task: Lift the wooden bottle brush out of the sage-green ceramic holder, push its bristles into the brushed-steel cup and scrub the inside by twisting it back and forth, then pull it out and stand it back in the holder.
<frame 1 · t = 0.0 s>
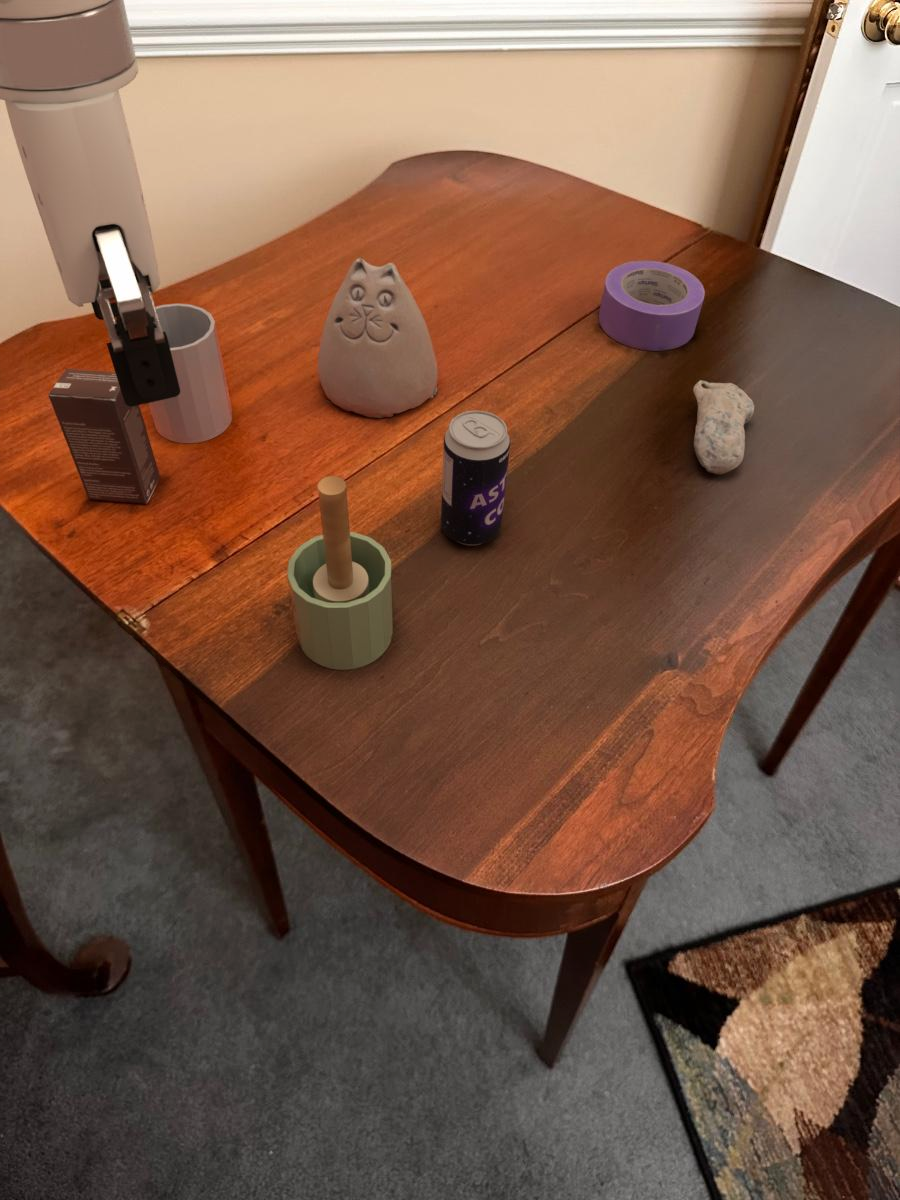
hand: (136, 354, 54), 26 cm above the table, tool pointing down, fingers open, 9 cm apart
steel cup: (193, 419, 91), on the table
box: (125, 489, 84), on the table
decorative stone: (718, 442, 92), on the table
bottle brush: (345, 627, 73), point 1 cm above the table, touching brush holder
tape roll: (645, 325, 106), on the table
brush holder: (345, 631, 74), on the table
beverage can: (470, 531, 82), on the table
sculpture: (378, 388, 96), on the table
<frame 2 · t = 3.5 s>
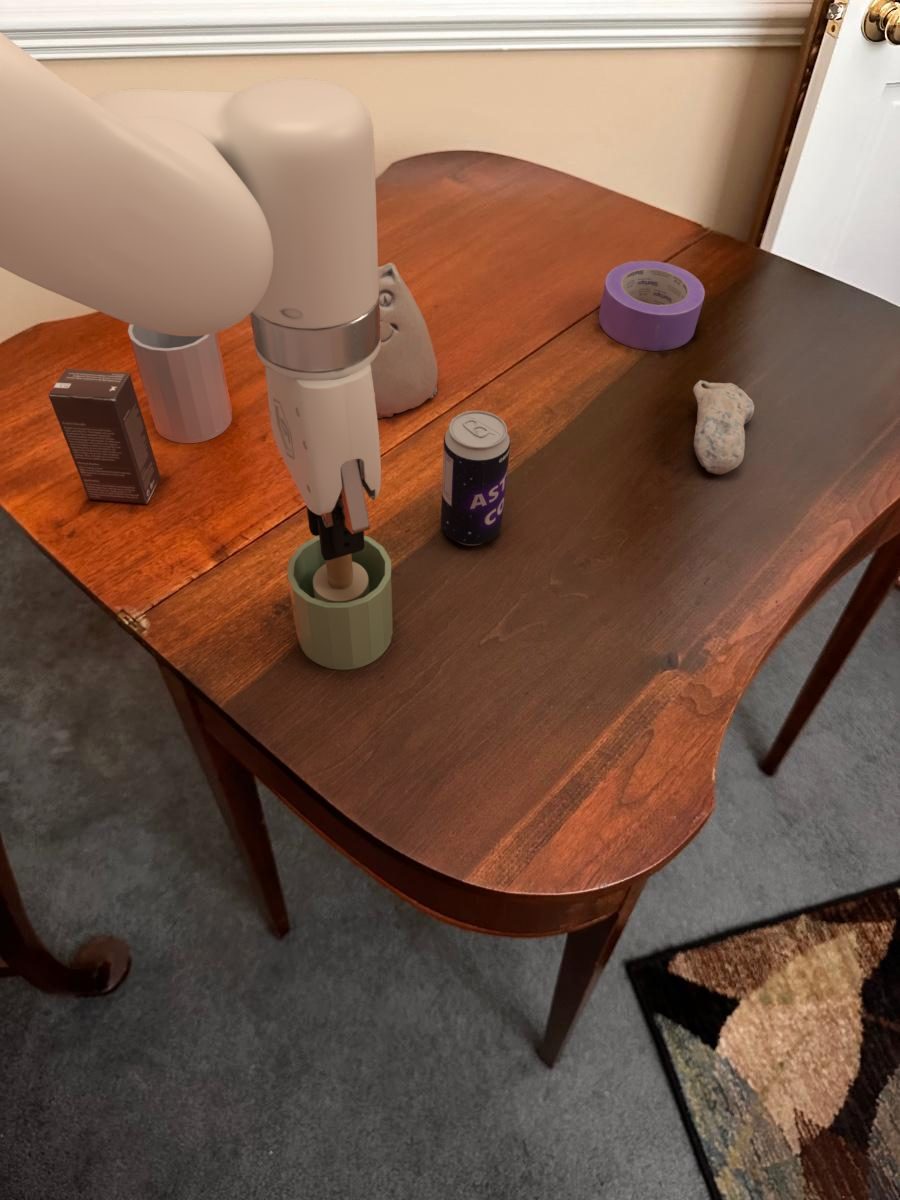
hand: (336, 539, 65), 11 cm above the table, tool pointing down, fingers closed on bottle brush, 2 cm apart
bottle brush: (345, 627, 73), point 1 cm above the table, touching brush holder, gripper
everything else where it was.
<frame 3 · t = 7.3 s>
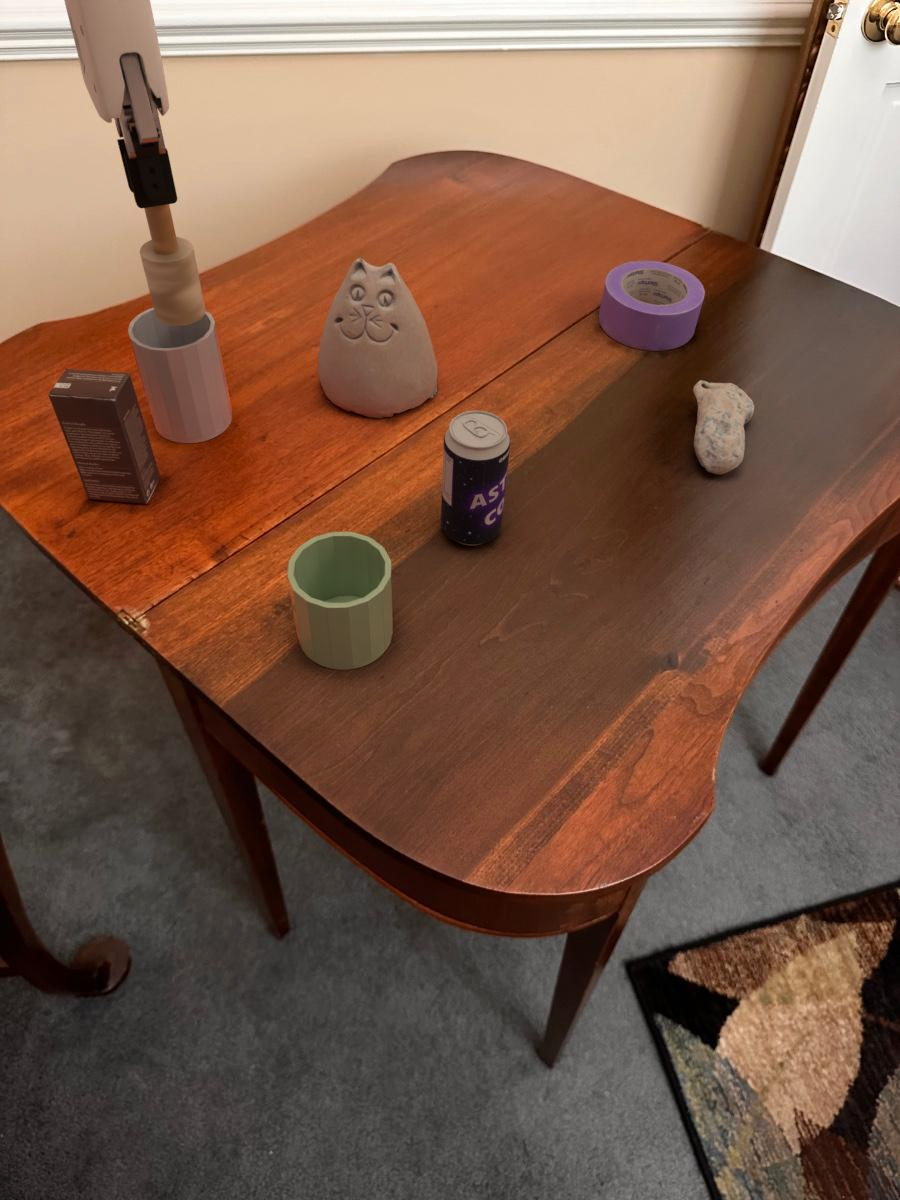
hand: (153, 195, 70), 25 cm above the table, tool pointing down, fingers closed on bottle brush
bottle brush: (180, 312, 78), point 15 cm above the table, touching gripper
everything else where it was.
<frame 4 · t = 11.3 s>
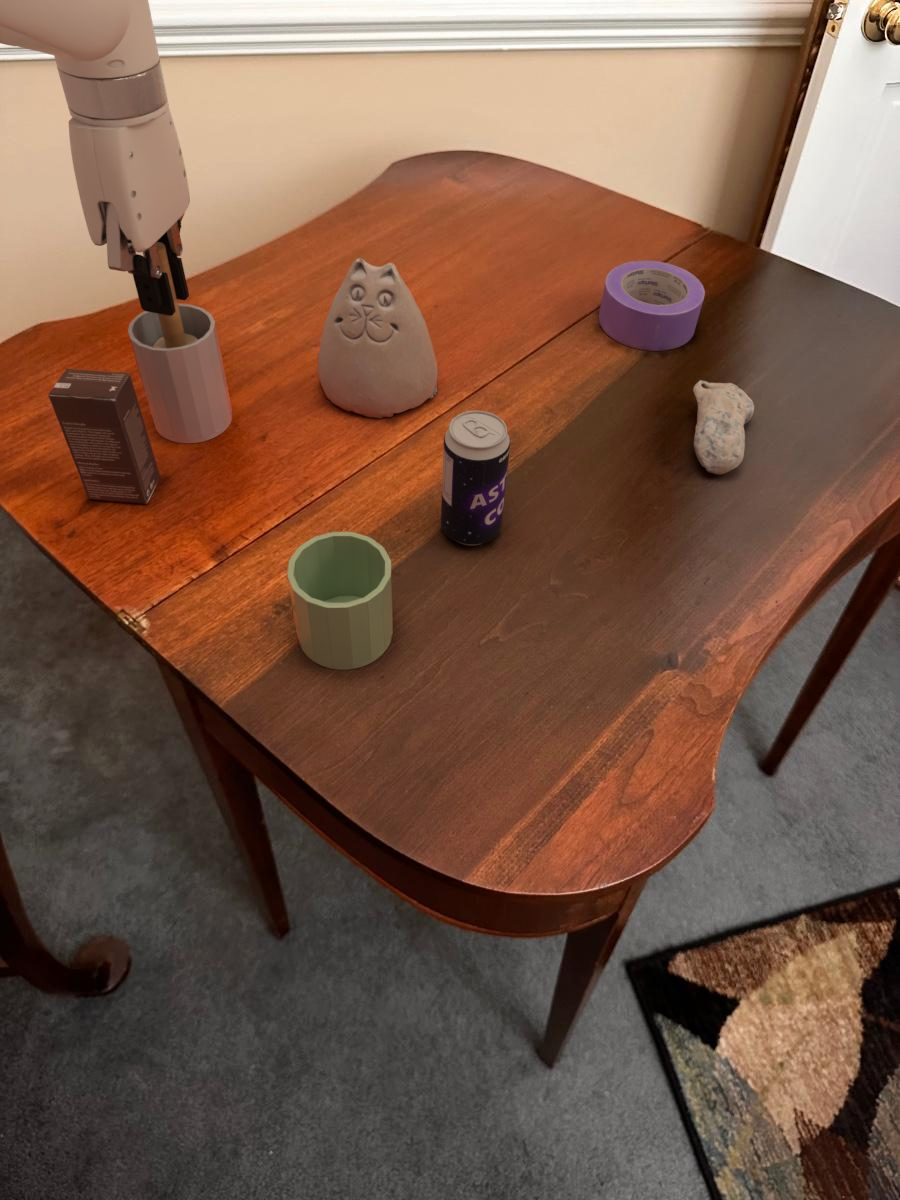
hand: (165, 302, 81), 13 cm above the table, tool pointing down, fingers closed on bottle brush, 2 cm apart
bottle brush: (188, 396, 89), point 3 cm above the table, touching gripper
everything else where it was.
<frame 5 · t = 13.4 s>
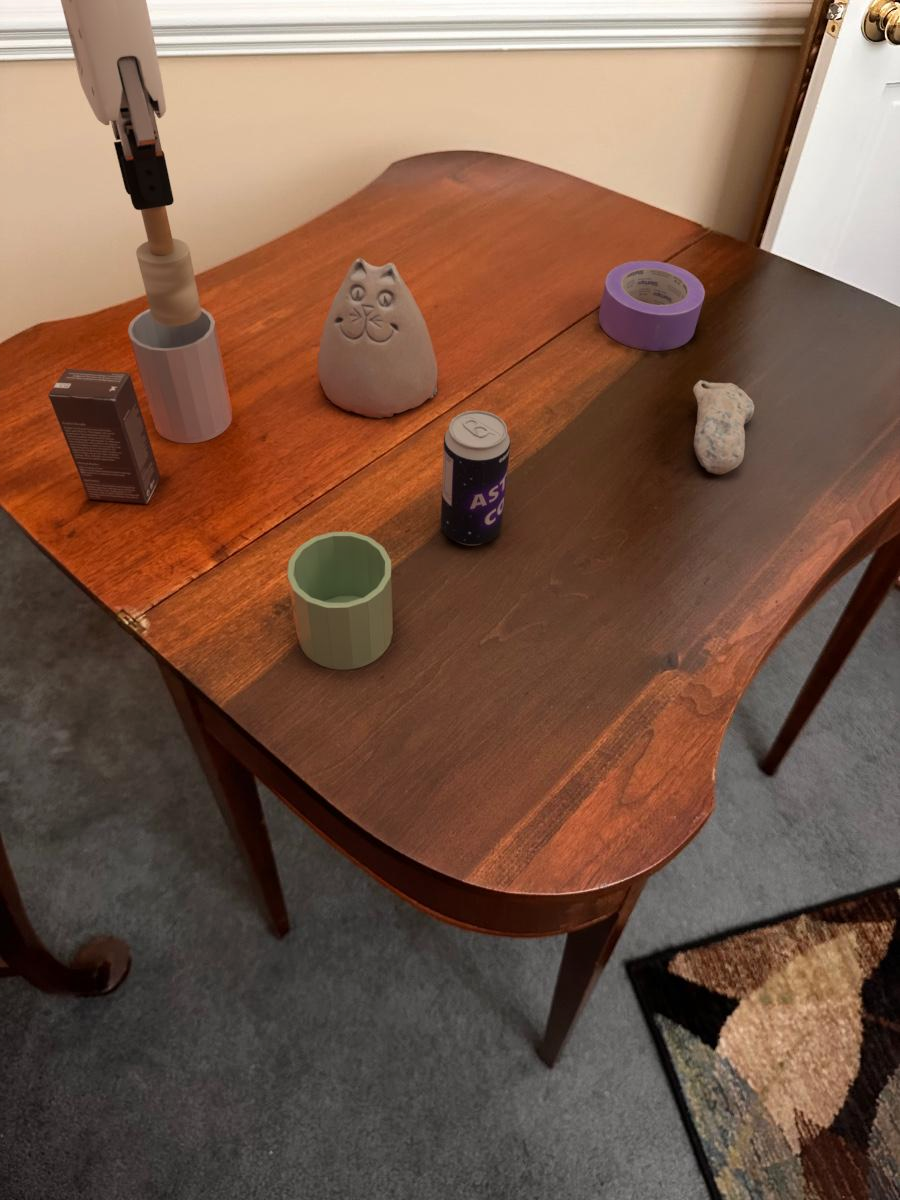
hand: (149, 196, 71), 25 cm above the table, tool pointing down, fingers closed on bottle brush
bottle brush: (176, 313, 79), point 14 cm above the table, touching gripper
everything else where it was.
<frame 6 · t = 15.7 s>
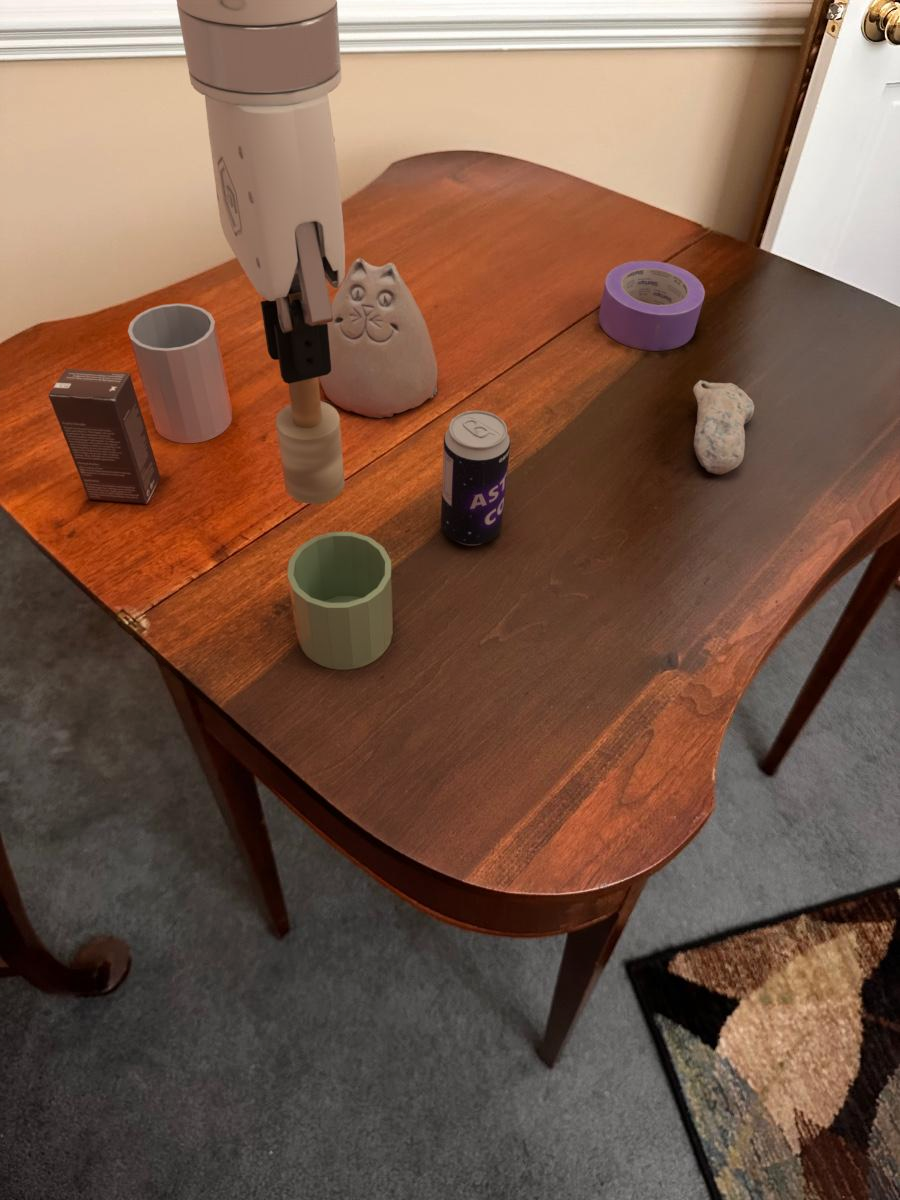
hand: (299, 363, 57), 25 cm above the table, tool pointing down, fingers closed on bottle brush
bottle brush: (315, 483, 65), point 14 cm above the table, touching gripper
everything else where it was.
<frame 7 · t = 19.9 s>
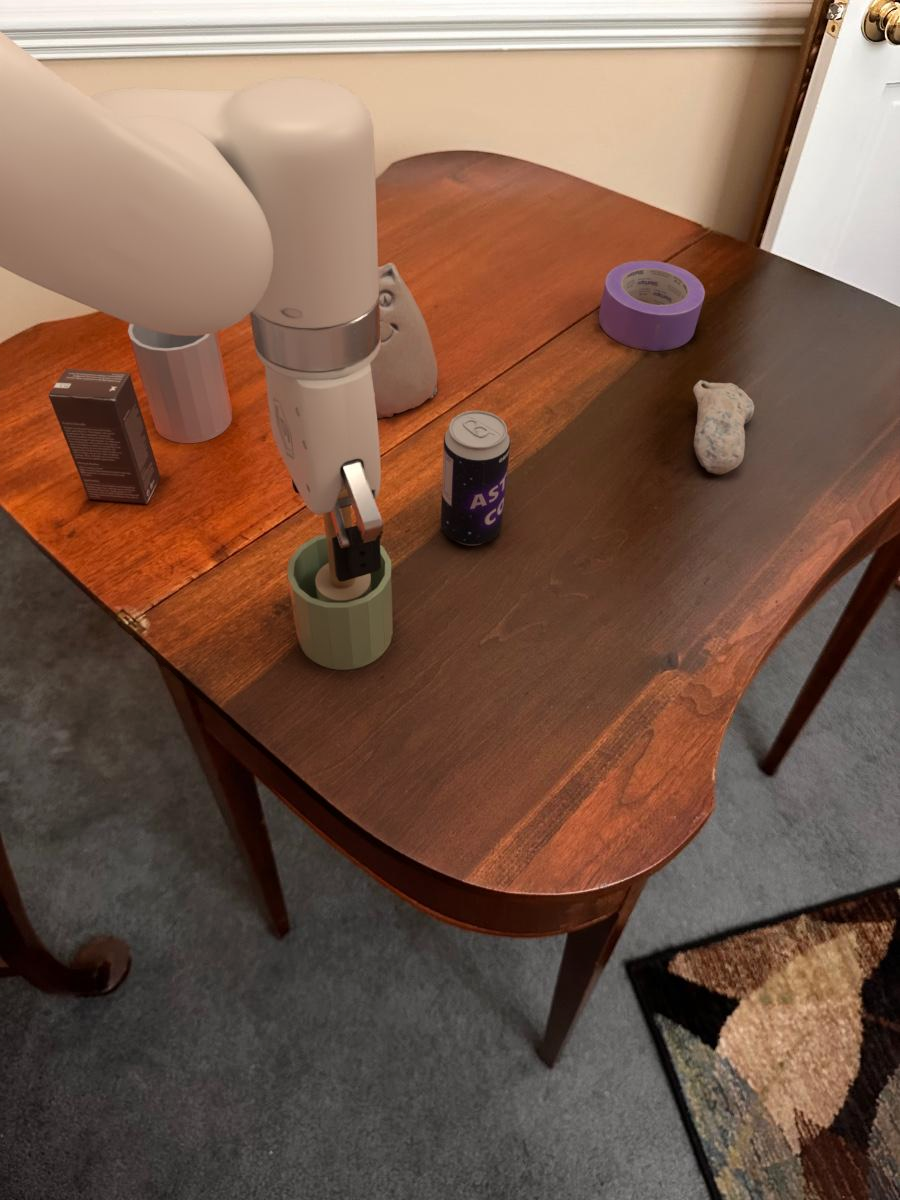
hand: (335, 528, 64), 12 cm above the table, tool pointing down, fingers open, 9 cm apart
bottle brush: (347, 626, 73), point 1 cm above the table, touching brush holder
everything else where it was.
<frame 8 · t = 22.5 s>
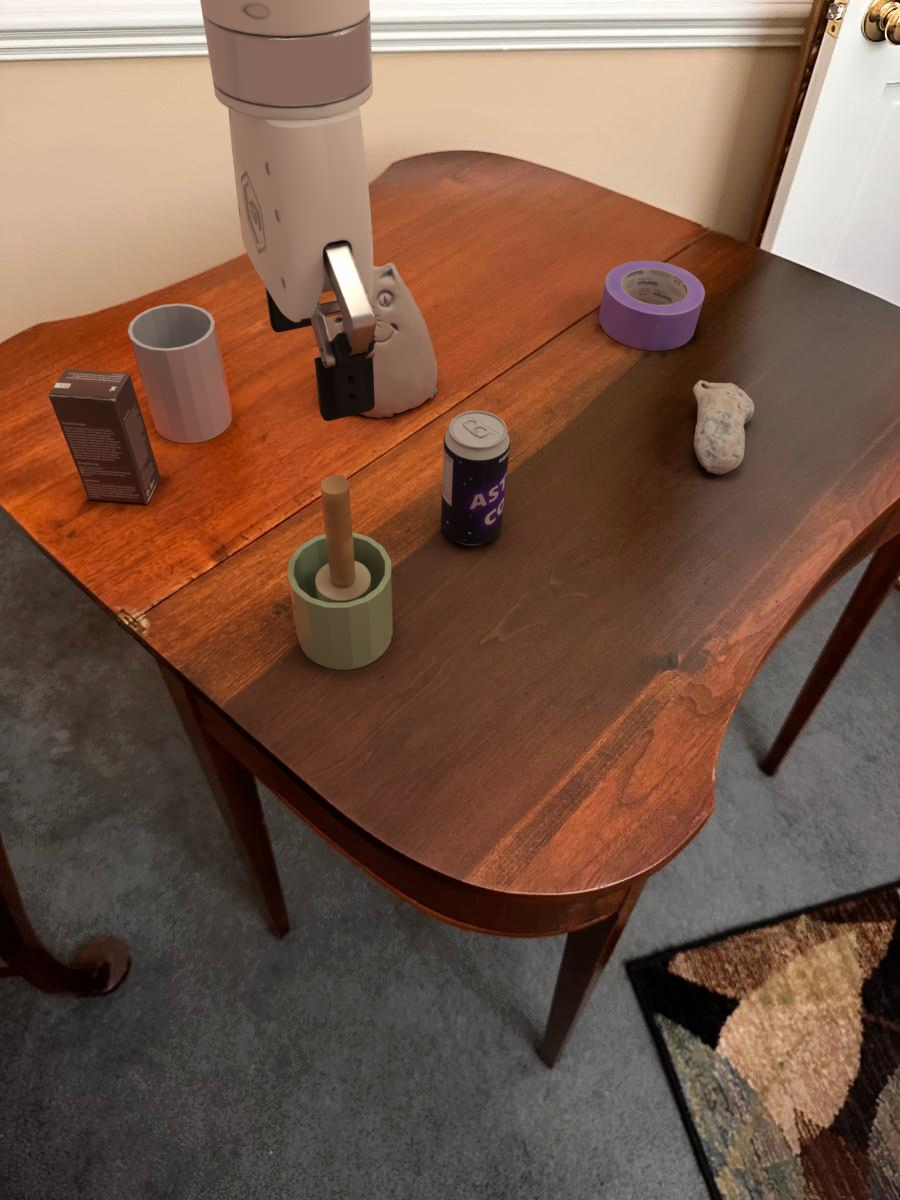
hand: (320, 367, 54), 26 cm above the table, tool pointing down, fingers open, 9 cm apart
nothing on the table moved.
at the end: bottle brush 0.2 cm off-centre in the brush holder, point 0.6 cm above the brush holder's base; bottle brush tilted 0°; bottle brush touching brush holder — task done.
